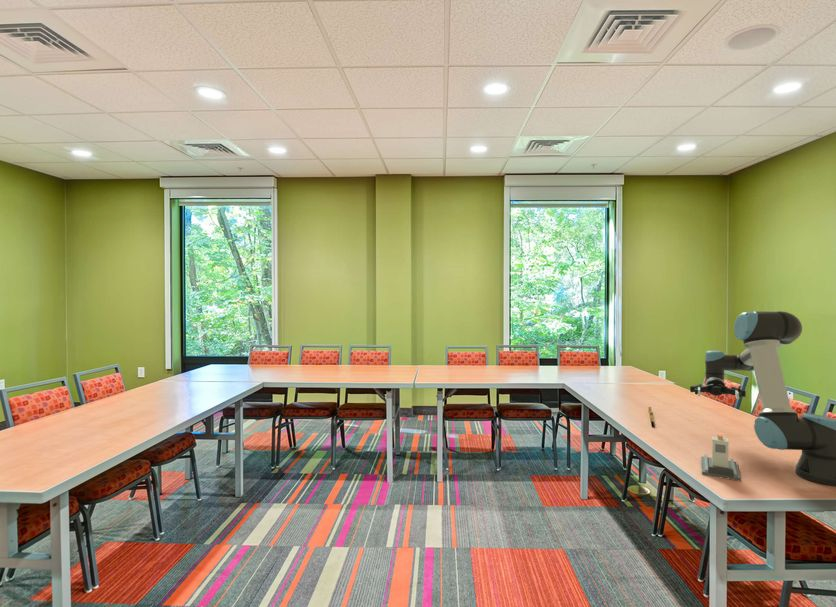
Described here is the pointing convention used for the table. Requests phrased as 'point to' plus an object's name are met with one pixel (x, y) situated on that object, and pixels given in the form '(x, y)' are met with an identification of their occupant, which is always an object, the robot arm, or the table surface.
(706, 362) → the robot arm
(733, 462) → the rail board
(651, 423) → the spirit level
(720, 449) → the din module
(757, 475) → the table surface
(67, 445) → the table surface
